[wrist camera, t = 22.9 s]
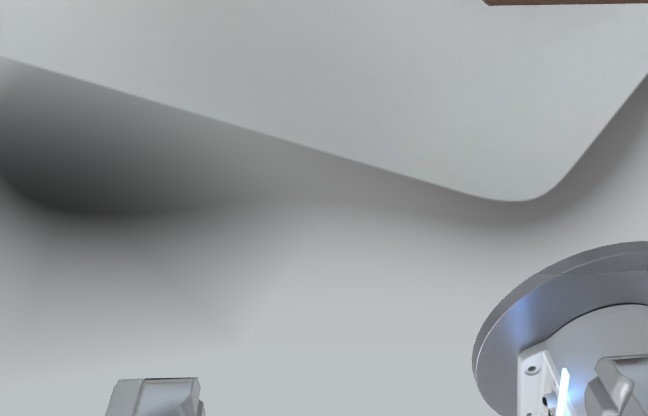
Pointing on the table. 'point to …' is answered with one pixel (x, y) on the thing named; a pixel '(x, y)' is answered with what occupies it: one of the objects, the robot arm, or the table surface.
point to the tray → (559, 2)
